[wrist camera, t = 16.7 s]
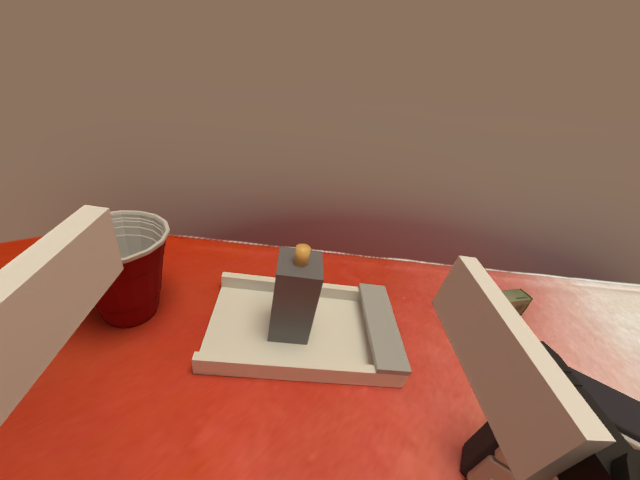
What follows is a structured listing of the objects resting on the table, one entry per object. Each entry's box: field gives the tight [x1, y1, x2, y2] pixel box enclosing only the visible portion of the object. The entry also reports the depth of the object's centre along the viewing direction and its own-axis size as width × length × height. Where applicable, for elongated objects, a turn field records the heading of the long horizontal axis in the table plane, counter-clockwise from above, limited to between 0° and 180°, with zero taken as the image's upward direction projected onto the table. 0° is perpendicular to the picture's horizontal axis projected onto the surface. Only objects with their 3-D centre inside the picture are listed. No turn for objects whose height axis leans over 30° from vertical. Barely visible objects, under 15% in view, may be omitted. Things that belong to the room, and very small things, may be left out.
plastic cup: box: [95, 210, 170, 328], centre depth 34 cm, size 11×11×12 cm
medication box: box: [502, 289, 533, 315], centre depth 49 cm, size 12×3×4 cm, turn 106°
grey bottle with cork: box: [267, 244, 324, 345], centre depth 35 cm, size 5×5×13 cm
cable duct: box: [192, 272, 412, 388], centre depth 38 cm, size 24×14×3 cm, turn 92°
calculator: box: [461, 367, 640, 480], centre depth 24 cm, size 11×4×15 cm, turn 59°
